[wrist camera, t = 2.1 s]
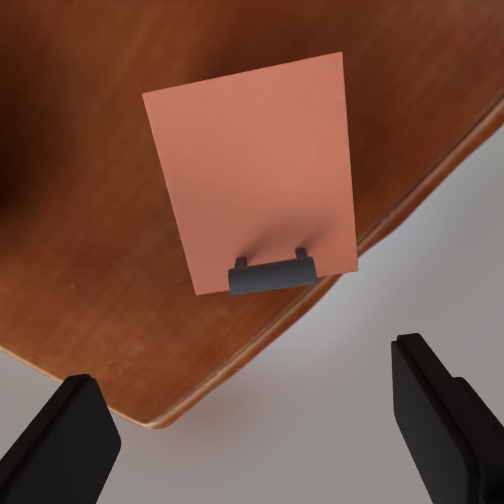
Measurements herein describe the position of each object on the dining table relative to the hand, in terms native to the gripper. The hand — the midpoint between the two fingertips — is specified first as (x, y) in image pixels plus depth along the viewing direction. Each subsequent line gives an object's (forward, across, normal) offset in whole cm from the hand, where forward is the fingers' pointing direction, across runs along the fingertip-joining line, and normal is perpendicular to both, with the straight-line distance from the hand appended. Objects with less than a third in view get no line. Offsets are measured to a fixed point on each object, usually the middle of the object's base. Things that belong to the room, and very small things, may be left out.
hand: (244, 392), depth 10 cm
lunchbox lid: (+13, -1, -4) cm, 14 cm away
